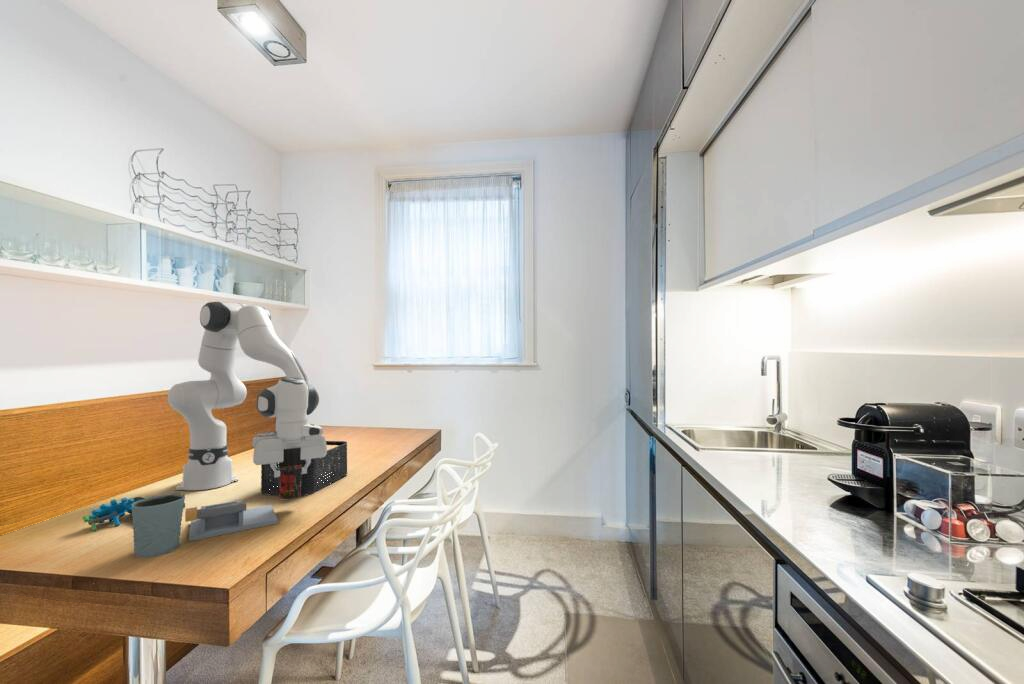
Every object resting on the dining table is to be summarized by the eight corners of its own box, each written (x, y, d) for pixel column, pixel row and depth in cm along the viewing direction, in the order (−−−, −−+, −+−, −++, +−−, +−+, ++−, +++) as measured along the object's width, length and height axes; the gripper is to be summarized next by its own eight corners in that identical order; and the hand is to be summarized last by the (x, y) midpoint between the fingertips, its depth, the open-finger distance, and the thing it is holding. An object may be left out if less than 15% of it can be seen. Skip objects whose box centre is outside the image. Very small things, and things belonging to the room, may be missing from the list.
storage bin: (307, 497, 146) (307, 457, 146) (255, 495, 148) (256, 456, 149) (350, 474, 174) (350, 441, 175) (306, 473, 177) (306, 440, 177)
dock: (191, 523, 122) (191, 506, 123) (271, 508, 134) (271, 493, 134) (189, 541, 110) (189, 522, 110) (277, 523, 122) (277, 506, 122)
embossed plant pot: (122, 562, 99) (123, 509, 100) (139, 545, 108) (140, 496, 109) (176, 553, 103) (177, 502, 104) (188, 537, 112) (189, 491, 113)
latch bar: (185, 518, 113) (185, 508, 113) (245, 508, 120) (245, 498, 121) (185, 521, 111) (185, 511, 111) (246, 510, 118) (246, 501, 118)
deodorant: (276, 496, 133) (277, 447, 133) (296, 491, 137) (297, 444, 137) (283, 500, 129) (284, 450, 129) (304, 496, 133) (305, 447, 133)
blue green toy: (132, 509, 130) (135, 491, 125) (138, 526, 128) (141, 507, 123) (81, 526, 121) (82, 507, 116) (87, 544, 119) (88, 525, 114)
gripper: (253, 435, 125) (252, 483, 124) (328, 428, 137) (327, 472, 136) (251, 431, 130) (250, 478, 130) (324, 425, 142) (323, 468, 141)
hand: (290, 475), depth 133 cm, fingers closed on deodorant, 6 cm apart
